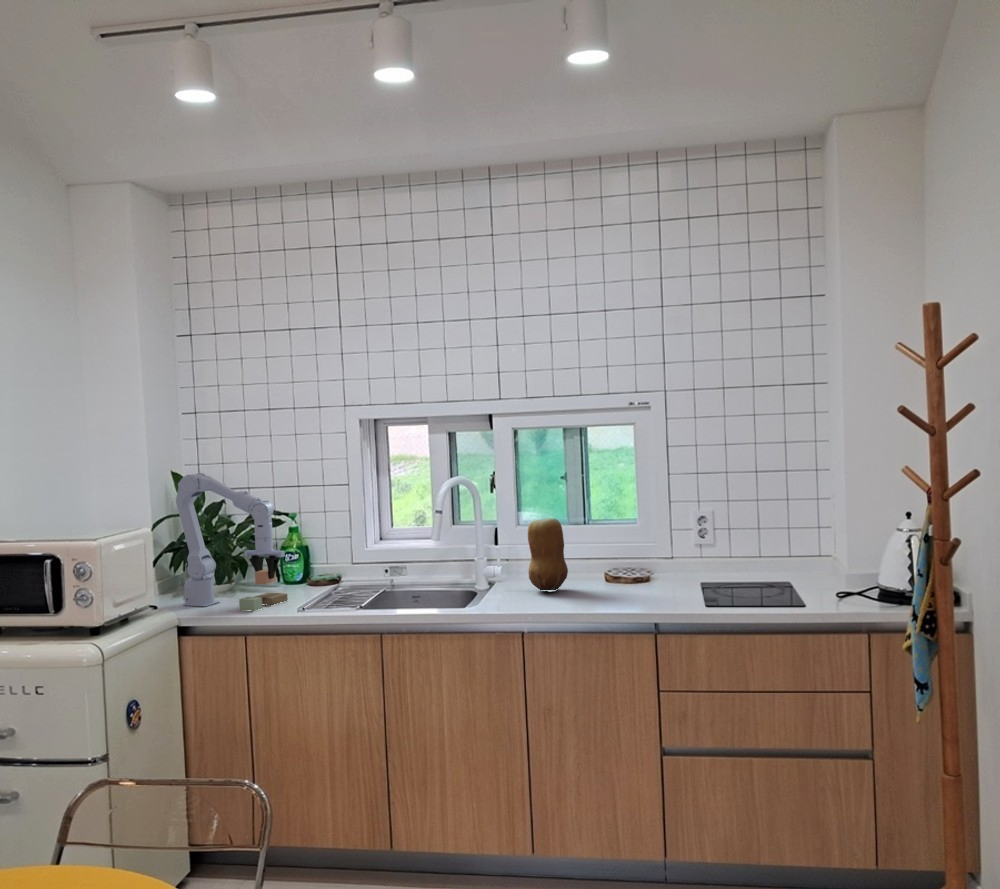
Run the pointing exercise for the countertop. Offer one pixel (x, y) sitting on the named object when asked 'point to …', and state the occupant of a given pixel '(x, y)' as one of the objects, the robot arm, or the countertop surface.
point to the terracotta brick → (263, 577)
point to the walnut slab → (273, 598)
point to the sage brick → (250, 603)
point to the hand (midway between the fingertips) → (265, 578)
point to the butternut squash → (546, 554)
